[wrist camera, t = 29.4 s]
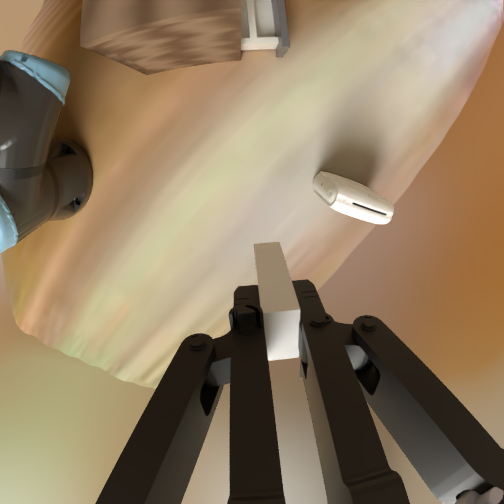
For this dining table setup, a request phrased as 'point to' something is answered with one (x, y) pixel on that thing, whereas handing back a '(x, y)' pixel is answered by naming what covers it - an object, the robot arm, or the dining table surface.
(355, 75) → the dining table surface
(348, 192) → the photo printer
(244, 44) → the tray
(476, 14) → the dining table surface
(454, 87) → the dining table surface
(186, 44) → the cabinet
